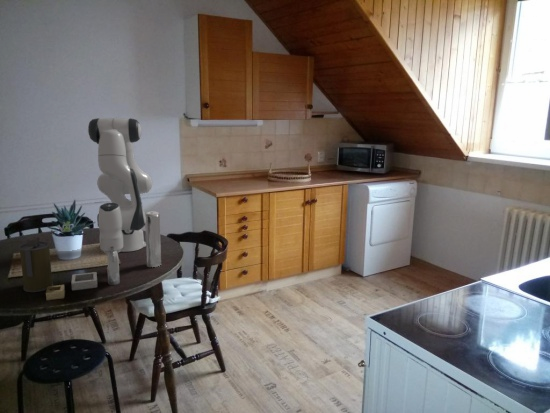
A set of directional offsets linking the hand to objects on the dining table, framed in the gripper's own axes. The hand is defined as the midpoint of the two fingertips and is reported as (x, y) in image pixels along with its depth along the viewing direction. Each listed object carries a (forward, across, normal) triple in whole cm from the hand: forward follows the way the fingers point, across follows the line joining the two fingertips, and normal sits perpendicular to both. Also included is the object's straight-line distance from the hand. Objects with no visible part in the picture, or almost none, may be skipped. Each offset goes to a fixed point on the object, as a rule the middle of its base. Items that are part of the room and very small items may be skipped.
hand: (113, 275), depth 174 cm
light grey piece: (+3, +15, -18) cm, 24 cm away
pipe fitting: (+3, 0, 0) cm, 3 cm away
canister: (+3, +5, +28) cm, 29 cm away
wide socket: (+3, +2, +11) cm, 12 cm away
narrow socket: (+3, -6, +21) cm, 22 cm away
